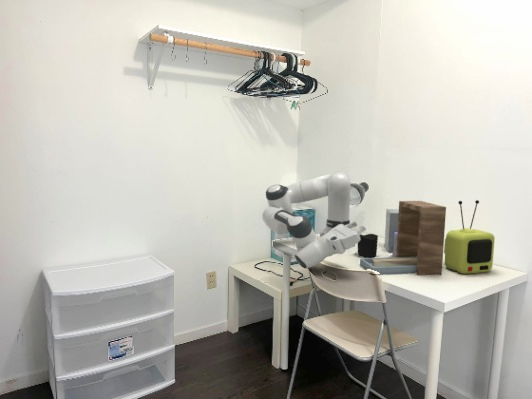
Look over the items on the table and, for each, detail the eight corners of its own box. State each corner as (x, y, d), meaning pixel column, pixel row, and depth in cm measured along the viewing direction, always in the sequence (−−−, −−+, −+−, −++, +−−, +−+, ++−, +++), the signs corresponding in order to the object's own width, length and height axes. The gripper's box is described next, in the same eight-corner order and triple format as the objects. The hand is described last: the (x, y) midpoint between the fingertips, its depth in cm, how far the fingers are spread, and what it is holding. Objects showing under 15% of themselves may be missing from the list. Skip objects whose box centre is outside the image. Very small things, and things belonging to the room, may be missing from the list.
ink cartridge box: (413, 257, 191) (414, 227, 189) (415, 260, 185) (416, 229, 184) (391, 256, 193) (393, 226, 191) (392, 259, 187) (394, 228, 186)
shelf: (396, 261, 183) (399, 200, 180) (416, 261, 185) (420, 200, 181) (419, 275, 164) (422, 207, 160) (441, 274, 165) (446, 207, 162)
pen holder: (373, 259, 187) (374, 238, 186) (354, 256, 192) (354, 235, 191) (379, 255, 195) (380, 234, 194) (360, 252, 200) (361, 232, 199)
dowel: (371, 266, 173) (371, 259, 172) (415, 264, 176) (415, 257, 175) (374, 268, 170) (374, 261, 169) (418, 266, 173) (419, 259, 172)
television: (463, 276, 163) (468, 203, 159) (433, 264, 180) (437, 197, 177) (497, 272, 168) (503, 201, 164) (465, 261, 185) (470, 196, 182)
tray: (359, 265, 178) (360, 258, 177) (416, 263, 182) (417, 256, 181) (372, 275, 164) (373, 267, 163) (434, 272, 168) (434, 265, 167)
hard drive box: (403, 253, 199) (405, 213, 197) (387, 252, 200) (389, 212, 198) (398, 245, 214) (400, 208, 212) (384, 245, 216) (385, 208, 213)
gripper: (328, 243, 177) (354, 226, 178) (343, 255, 157) (373, 237, 158) (321, 231, 176) (348, 214, 177) (336, 241, 156) (366, 223, 157)
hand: (360, 225), depth 167 cm, fingers open, 8 cm apart
